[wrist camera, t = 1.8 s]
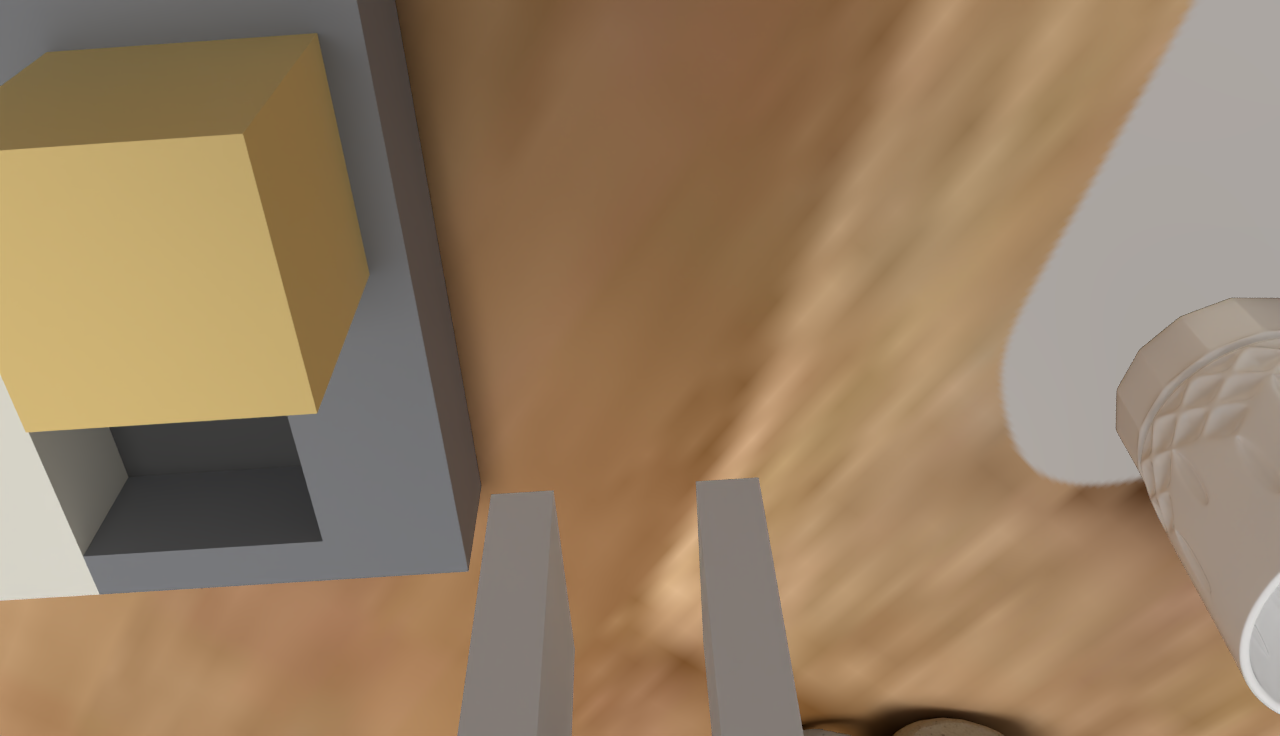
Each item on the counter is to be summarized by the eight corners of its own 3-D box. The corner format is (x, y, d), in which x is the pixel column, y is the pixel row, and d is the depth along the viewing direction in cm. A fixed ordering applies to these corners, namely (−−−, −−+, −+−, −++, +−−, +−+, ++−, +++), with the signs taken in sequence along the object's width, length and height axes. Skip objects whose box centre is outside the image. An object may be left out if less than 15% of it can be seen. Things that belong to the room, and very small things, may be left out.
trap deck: (302, -525, 23) (194, -580, 17) (481, 486, 37) (456, 647, 31) (-575, -456, 23) (-978, -486, 17) (-66, 521, 37) (-194, 687, 31)
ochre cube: (316, 33, 25) (242, 133, 20) (369, 274, 28) (316, 413, 23) (46, 52, 25) (-96, 156, 20) (129, 290, 28) (25, 432, 23)
